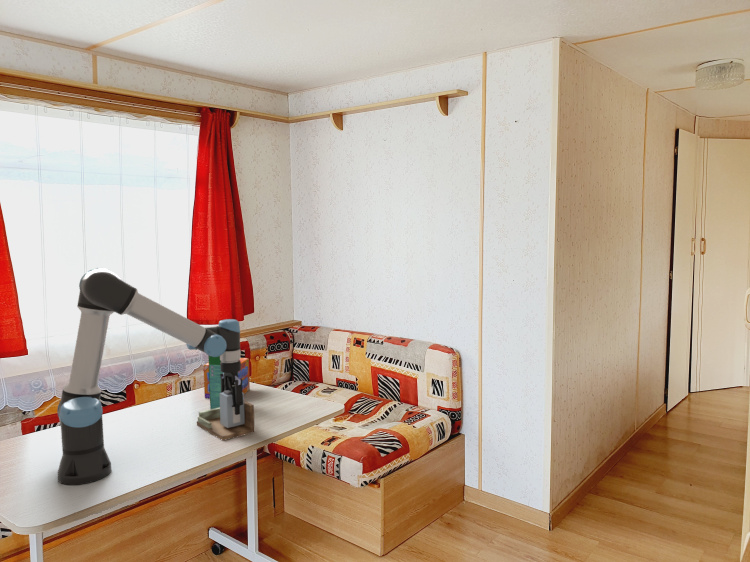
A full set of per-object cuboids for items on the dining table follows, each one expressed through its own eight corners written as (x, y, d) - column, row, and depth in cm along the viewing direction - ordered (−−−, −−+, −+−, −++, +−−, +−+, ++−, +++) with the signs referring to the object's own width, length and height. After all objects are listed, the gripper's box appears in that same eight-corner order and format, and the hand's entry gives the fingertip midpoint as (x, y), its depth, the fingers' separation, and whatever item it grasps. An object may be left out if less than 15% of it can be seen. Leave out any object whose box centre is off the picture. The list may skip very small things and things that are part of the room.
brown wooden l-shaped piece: (222, 440, 209) (221, 412, 208) (196, 425, 226) (195, 399, 225) (254, 431, 218) (253, 404, 217) (227, 417, 234) (226, 392, 233)
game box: (219, 388, 276) (218, 356, 274) (250, 390, 273) (249, 357, 272) (204, 398, 261) (203, 364, 259) (236, 400, 258) (235, 366, 256)
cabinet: (227, 427, 215) (226, 393, 214) (220, 423, 219) (219, 390, 218) (244, 423, 219) (243, 390, 218) (237, 419, 224) (236, 387, 223)
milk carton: (230, 411, 242) (228, 352, 240) (210, 410, 244) (208, 352, 242) (239, 404, 251) (237, 348, 249) (220, 403, 253) (218, 347, 250)
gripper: (251, 363, 212) (253, 424, 215) (228, 354, 227) (229, 412, 229) (233, 366, 207) (235, 429, 210) (210, 357, 222) (212, 416, 224)
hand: (232, 420), depth 219 cm, fingers closed on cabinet, 6 cm apart
